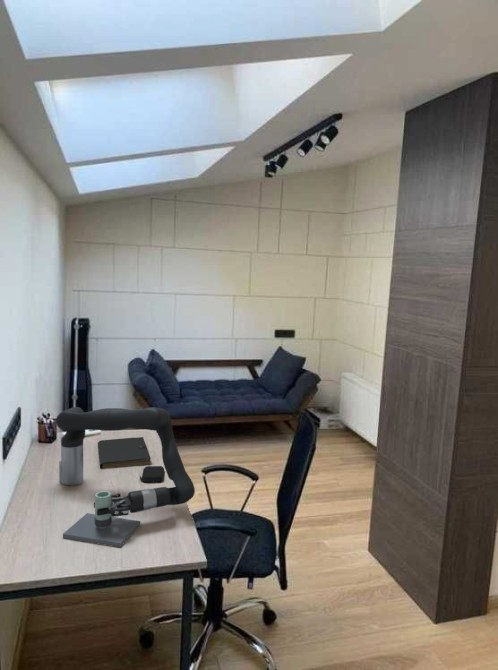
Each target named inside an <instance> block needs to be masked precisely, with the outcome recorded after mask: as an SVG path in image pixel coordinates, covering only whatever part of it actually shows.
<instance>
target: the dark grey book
mask: <svg viewBox="0 0 498 670" xmlns="http://www.w3.org/2000/svg"><path fill="white" fill-rule="evenodd" d="M97 449H98V451H97V452H98V460H99V461H98V463H99V468H100V469H103V468H104V470H105V469H115V468H118V469H119V468H129V467H137V466H140V467H141V466H146V465H147V466H151V455H150V452H149V449H148V447H147V444H146V442H145V439H144V436H142V437H141V436H140V437H125V438H113V439H102V440H99V441H98V442H97Z"/></svg>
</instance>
